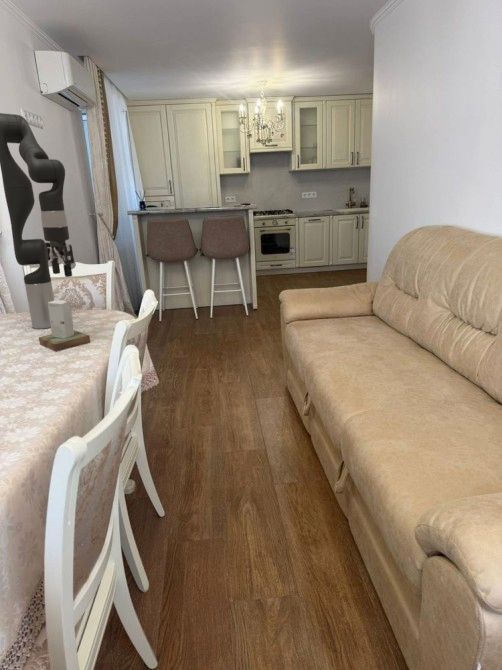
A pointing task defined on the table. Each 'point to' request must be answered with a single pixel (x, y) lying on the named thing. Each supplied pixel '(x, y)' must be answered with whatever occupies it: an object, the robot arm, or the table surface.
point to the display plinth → (64, 341)
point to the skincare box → (61, 318)
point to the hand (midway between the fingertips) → (62, 275)
